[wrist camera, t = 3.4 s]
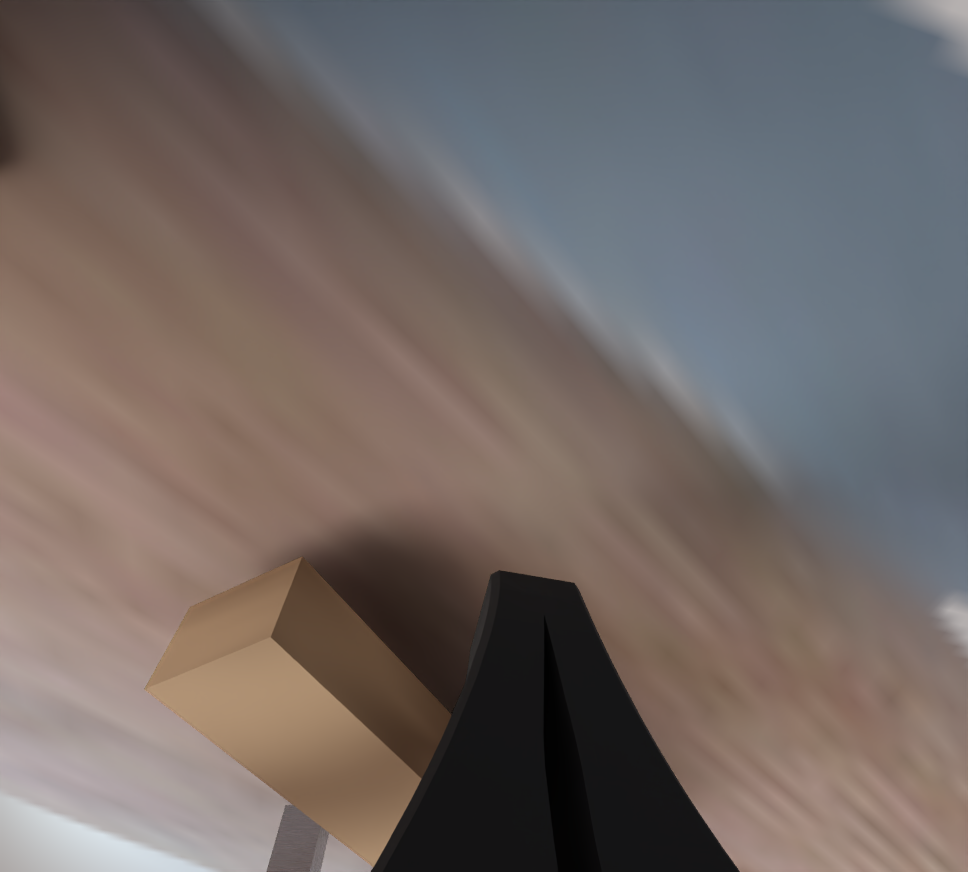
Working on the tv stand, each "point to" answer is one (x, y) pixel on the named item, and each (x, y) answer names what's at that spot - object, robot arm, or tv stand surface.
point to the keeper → (298, 844)
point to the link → (305, 701)
